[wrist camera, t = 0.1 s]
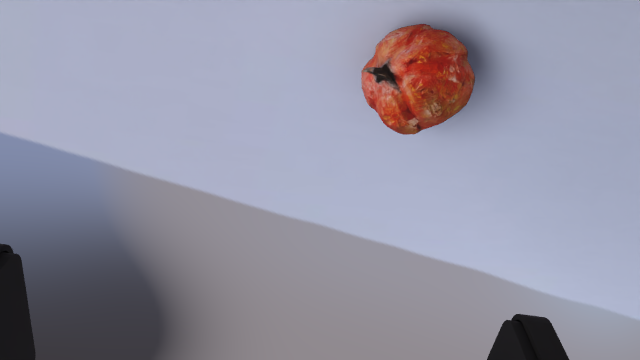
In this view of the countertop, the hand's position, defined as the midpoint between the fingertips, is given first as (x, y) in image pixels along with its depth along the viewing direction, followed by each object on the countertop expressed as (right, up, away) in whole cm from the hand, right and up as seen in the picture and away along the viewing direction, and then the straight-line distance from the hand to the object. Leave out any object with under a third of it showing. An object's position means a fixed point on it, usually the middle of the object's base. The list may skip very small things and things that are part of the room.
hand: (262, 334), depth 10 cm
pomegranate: (+8, +12, +29) cm, 33 cm away
